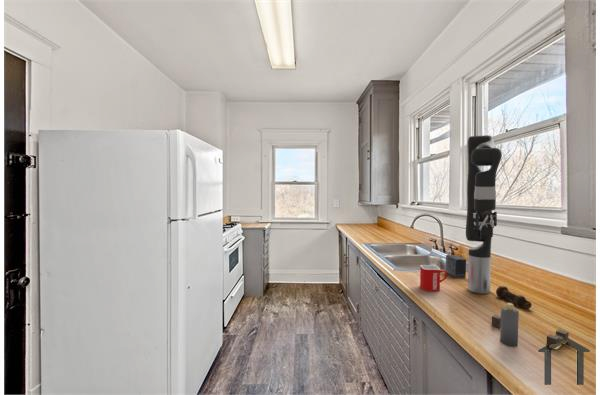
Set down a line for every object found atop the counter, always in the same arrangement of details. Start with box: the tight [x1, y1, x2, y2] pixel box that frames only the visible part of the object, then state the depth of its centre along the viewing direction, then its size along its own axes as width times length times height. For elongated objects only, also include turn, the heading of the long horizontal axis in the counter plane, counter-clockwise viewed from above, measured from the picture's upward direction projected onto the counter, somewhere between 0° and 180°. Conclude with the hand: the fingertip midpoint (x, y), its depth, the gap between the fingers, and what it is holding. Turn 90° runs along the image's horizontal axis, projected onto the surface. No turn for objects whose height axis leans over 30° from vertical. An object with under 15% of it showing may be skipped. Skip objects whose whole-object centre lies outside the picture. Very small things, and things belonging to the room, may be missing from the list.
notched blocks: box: [491, 314, 570, 346], centre depth 108 cm, size 9×20×4 cm, turn 30°
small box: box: [445, 254, 467, 279], centre depth 175 cm, size 11×6×10 cm, turn 4°
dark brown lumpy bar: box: [495, 285, 533, 310], centre depth 135 cm, size 6×5×15 cm
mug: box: [419, 264, 448, 292], centre depth 153 cm, size 12×8×11 cm
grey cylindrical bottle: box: [499, 302, 520, 348], centre depth 102 cm, size 5×5×13 cm
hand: (483, 237), depth 126 cm, fingers open, 8 cm apart
